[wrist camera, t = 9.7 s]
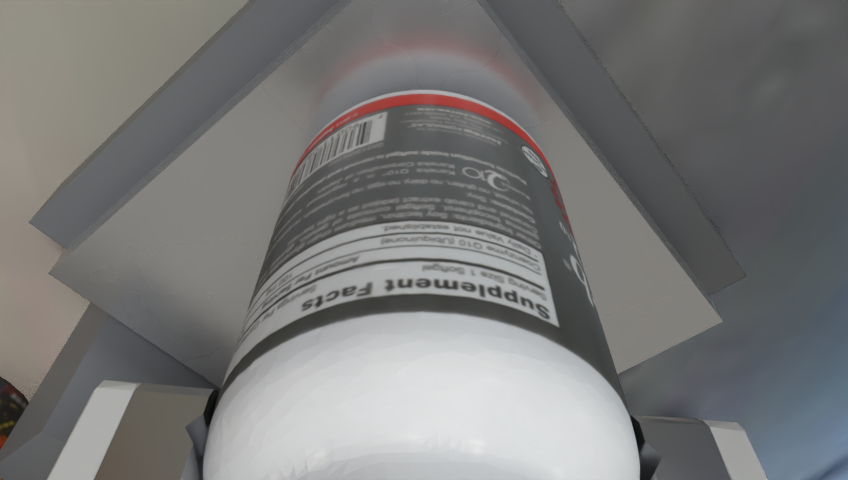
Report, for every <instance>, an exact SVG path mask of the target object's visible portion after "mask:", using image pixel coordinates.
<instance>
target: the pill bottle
mask: <svg viewBox="0 0 848 480" xmlns="http://www.w3.org/2000/svg"><path fill="white" fill-rule="evenodd" d="M203 480H640V461H639V453H638V447H637V442H636V438H635V434H634V430H633V426H632V422H631V418H630V414H629V410H628V406H627V403H626V400H625V397H624V394H623V391H622V388H621V384H620V381H619V378H618V375H617V372H616V369H615V365H614V362H613V359H612V356H611V353H610V349H609V346H608V343H607V340H606V337H605V334H604V331H603V327H602V324H601V321H600V318H599V315H598V311H597V308H596V305H595V302H594V298H593V295H592V292H591V289H590V286H589V283H588V280H587V276H586V273H585V271H584V267H583V264H582V261H581V257H580V254H579V251H578V247H577V244H576V241H575V238H574V234H573V231H572V228H571V225H570V221H569V218H568V215H567V212H566V209H565V205H564V203H563V199H562V196H561V193H560V190H559V187H558V184H557V182H556V179H555V176H554V174H553V171H552V169H551V167H550V165H549V163H548V161H547V159H546V157H545V155H544V154H543V152H542V151H541V149H540V147H539V146H538V145H537V144H536V142H535V141H534V140H533V138H532V137H531V136H530V135H529V134H528V133H527V132H526V131H525V130H524V129H523V128H522V127H521V126H520V125H519V124H518V123H517V122H515V121H514V120H513V119H512V118H510V117H509V116H507V115H506V114H505V113H503V112H501V111H499V110H498V109H496V108H494V107H492V106H490V105H488V104H486V103H484V102H481V101H479V100H476V99H474V98H471V97H468V96H464V95H461V94H457V93H452V92H447V91H439V90H409V91H400V92H394V93H389V94H385V95H381V96H378V97H375V98H372V99H369V100H366V101H364V102H361V103H359V104H357V105H355V106H353V107H352V108H350V109H348V110H346V111H344V112H343V113H341V114H340V115H339V116H337V117H336V118H334V119H333V120H332V121H331V122H329V123H328V124H327V125H326V126H325V127H324V128H323V129H322V130H321V131H320V132H319V133H318V134H317V135H316V136H315V137H314V138H313V140H312V141H311V142H310V144H309V145H308V146H307V148H306V149H305V151H304V152H303V154H302V156H301V158H300V160H299V161H298V163H297V165H296V168H295V169H294V171H293V174H292V176H291V179H290V182H289V185H288V189H287V192H286V194H285V198H284V200H283V203H282V206H281V209H280V211H279V215H278V218H277V221H276V224H275V228H274V231H273V234H272V237H271V240H270V243H269V246H268V250H267V253H266V256H265V259H264V262H263V265H262V268H261V271H260V274H259V277H258V280H257V283H256V286H255V289H254V292H253V295H252V298H251V301H250V304H249V307H248V311H247V314H246V317H245V320H244V323H243V326H242V329H241V332H240V335H239V338H238V340H237V343H236V346H235V349H234V352H233V355H232V358H231V361H230V364H229V367H228V369H227V372H226V375H225V378H224V381H223V384H222V387H221V391H220V394H219V396H218V399H217V402H216V405H215V409H214V413H213V416H212V420H211V424H210V428H209V433H208V437H207V442H206V446H205V452H204V458H203Z"/></svg>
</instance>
